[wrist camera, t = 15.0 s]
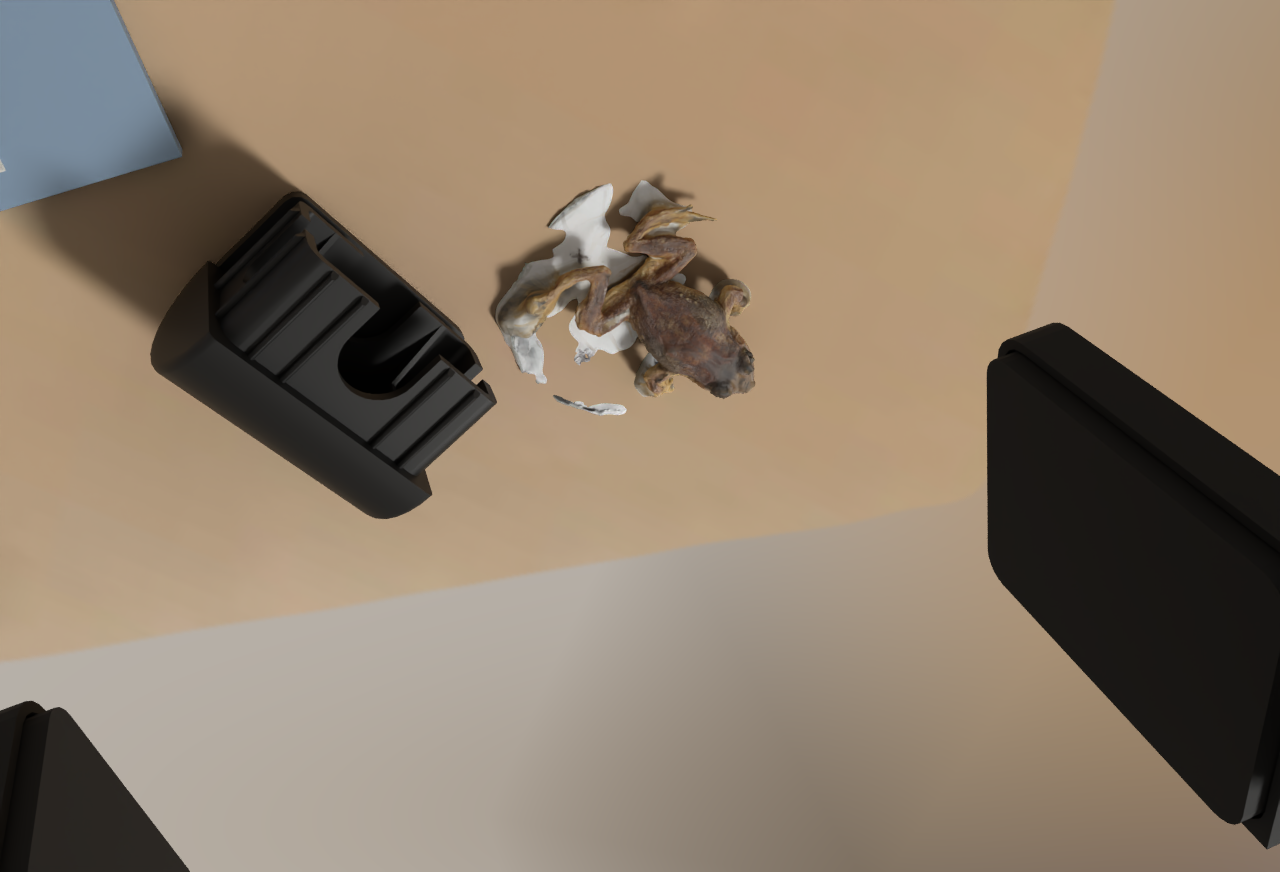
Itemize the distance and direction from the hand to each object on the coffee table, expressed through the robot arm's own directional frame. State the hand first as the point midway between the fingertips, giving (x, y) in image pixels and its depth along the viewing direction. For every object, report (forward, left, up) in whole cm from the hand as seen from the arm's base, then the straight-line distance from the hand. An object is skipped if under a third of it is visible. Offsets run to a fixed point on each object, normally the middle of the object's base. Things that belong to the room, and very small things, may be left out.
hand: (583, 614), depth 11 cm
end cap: (+4, +12, -33) cm, 35 cm away
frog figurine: (-9, +16, -33) cm, 38 cm away
